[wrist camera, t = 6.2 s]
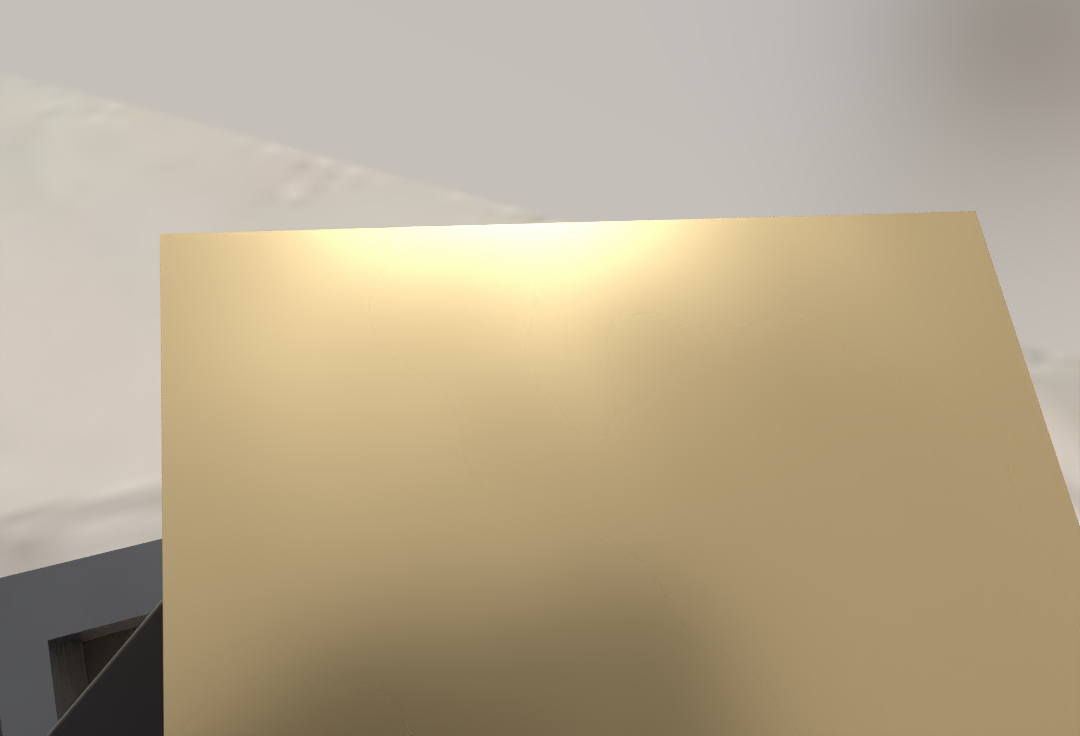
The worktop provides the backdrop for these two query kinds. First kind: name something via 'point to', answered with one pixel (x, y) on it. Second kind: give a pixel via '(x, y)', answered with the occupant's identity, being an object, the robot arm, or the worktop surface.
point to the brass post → (609, 484)
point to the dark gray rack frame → (67, 628)
